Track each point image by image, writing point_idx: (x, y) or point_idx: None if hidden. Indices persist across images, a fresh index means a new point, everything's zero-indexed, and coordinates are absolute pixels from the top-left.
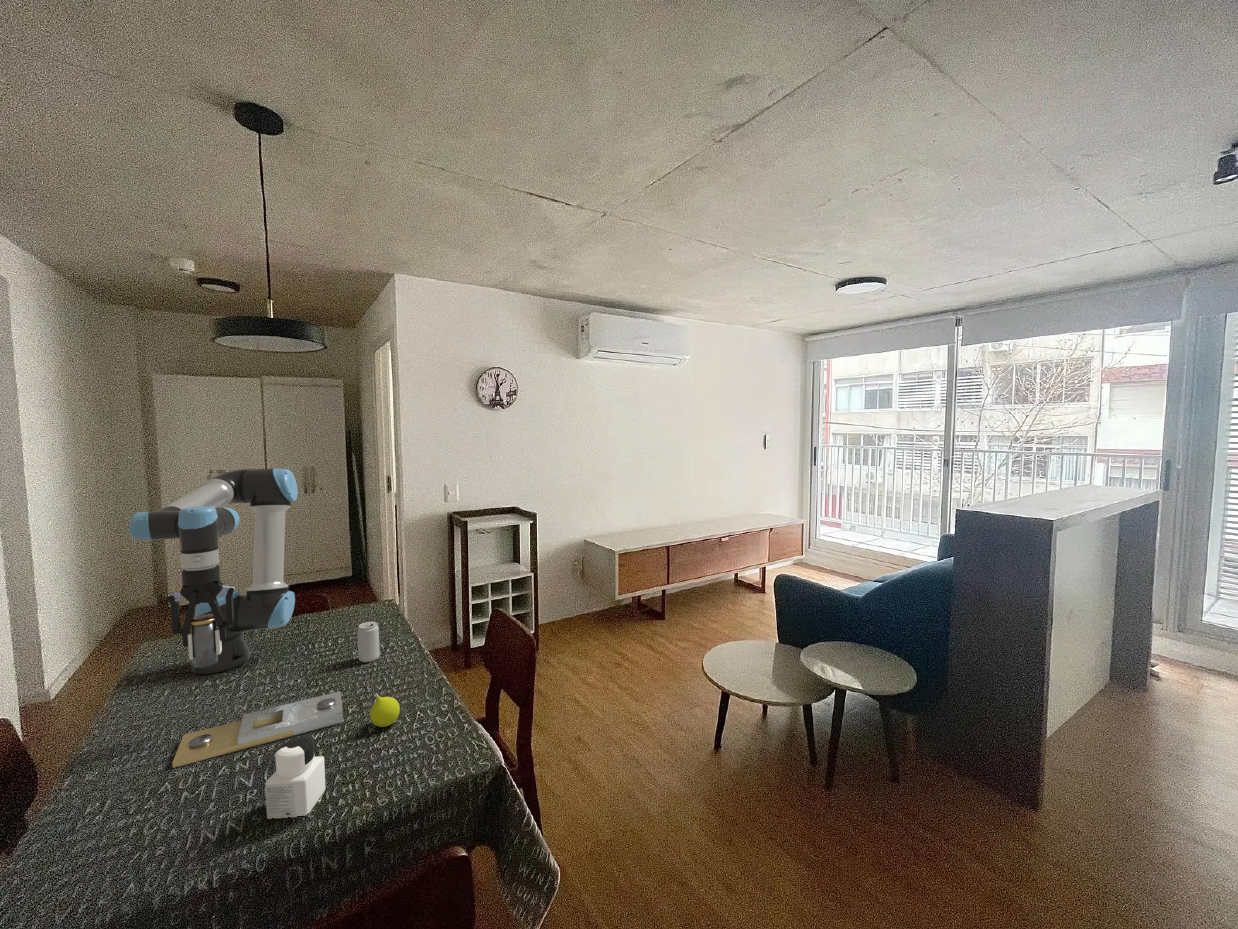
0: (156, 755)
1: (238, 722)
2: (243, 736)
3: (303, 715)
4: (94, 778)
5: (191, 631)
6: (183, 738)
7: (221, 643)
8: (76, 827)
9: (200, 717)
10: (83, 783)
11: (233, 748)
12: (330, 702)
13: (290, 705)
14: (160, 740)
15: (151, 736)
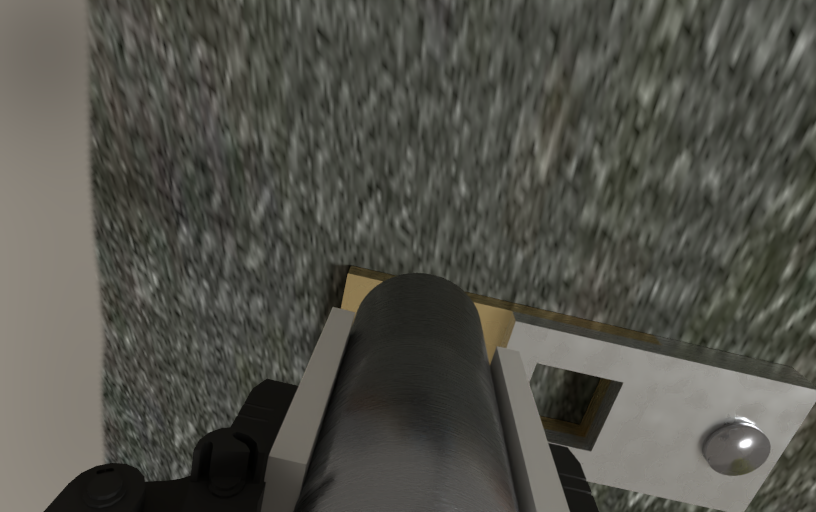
0: (284, 298)
1: (495, 315)
2: None
3: (651, 460)
4: (156, 307)
5: (282, 472)
6: (346, 298)
7: (529, 389)
8: (172, 479)
9: (403, 121)
10: (137, 313)
11: None
12: (747, 460)
13: (652, 370)
14: (288, 207)
15: (261, 153)
